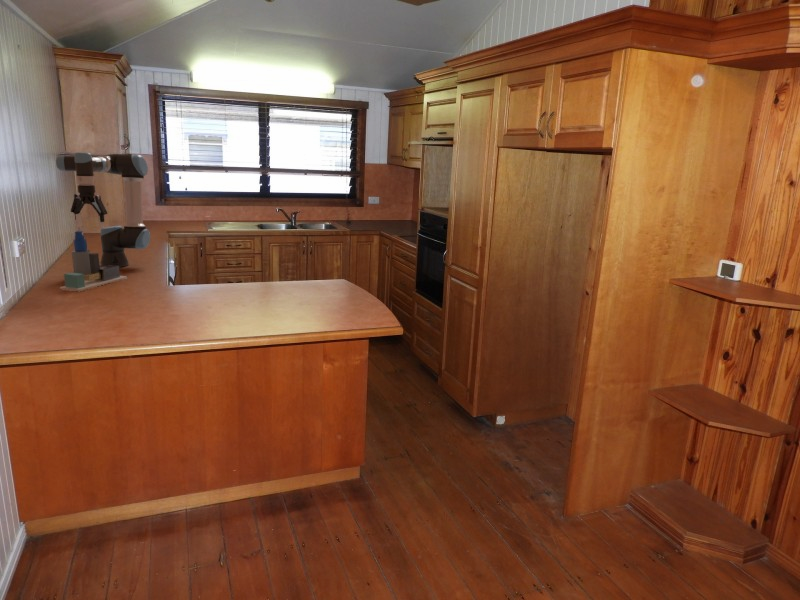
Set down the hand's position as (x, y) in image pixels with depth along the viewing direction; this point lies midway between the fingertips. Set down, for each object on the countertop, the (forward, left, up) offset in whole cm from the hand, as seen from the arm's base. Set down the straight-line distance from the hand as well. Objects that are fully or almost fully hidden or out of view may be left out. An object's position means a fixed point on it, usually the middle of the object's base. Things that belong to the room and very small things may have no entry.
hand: (90, 227), depth 284 cm
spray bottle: (-8, -16, -29) cm, 34 cm away
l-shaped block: (-3, 0, -26) cm, 26 cm away
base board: (+1, 0, -29) cm, 29 cm away
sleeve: (-8, 0, -28) cm, 29 cm away
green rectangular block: (+13, 0, -28) cm, 31 cm away
